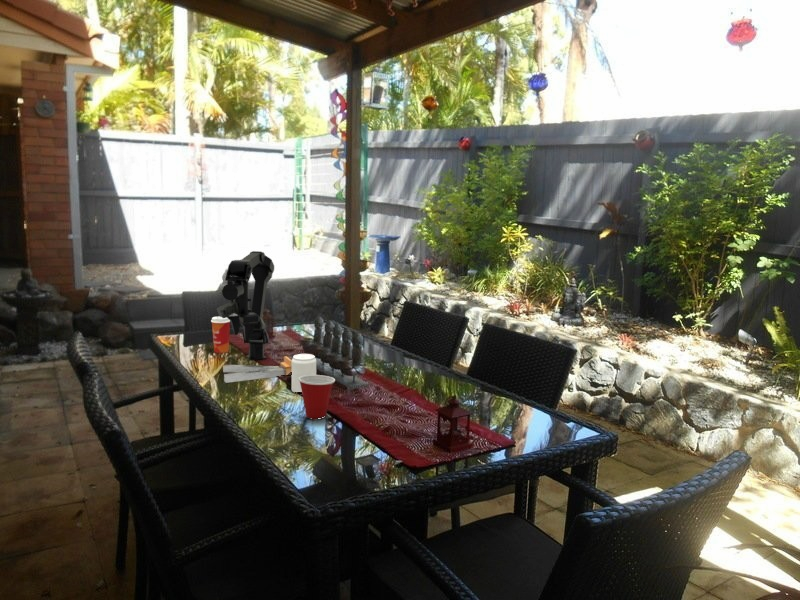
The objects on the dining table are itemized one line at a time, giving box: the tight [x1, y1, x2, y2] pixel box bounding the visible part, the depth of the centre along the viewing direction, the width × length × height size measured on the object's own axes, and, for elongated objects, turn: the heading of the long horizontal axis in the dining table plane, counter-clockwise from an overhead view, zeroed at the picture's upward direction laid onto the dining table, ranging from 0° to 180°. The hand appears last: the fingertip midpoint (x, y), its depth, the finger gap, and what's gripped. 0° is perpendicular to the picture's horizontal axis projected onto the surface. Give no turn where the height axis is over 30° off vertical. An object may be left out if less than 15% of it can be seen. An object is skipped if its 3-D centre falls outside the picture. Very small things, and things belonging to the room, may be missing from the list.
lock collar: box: [279, 356, 292, 375], centre depth 236 cm, size 7×2×5 cm, turn 29°
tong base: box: [223, 366, 286, 384], centre depth 232 cm, size 5×24×2 cm, turn 119°
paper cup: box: [210, 315, 231, 354], centre depth 264 cm, size 8×8×14 cm
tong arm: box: [222, 364, 280, 373], centre depth 237 cm, size 20×2×2 cm, turn 89°
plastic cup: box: [299, 374, 336, 420], centre depth 194 cm, size 11×11×12 cm
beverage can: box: [291, 353, 317, 393], centre depth 217 cm, size 8×8×12 cm
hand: (241, 337), depth 239 cm, fingers open, 9 cm apart
